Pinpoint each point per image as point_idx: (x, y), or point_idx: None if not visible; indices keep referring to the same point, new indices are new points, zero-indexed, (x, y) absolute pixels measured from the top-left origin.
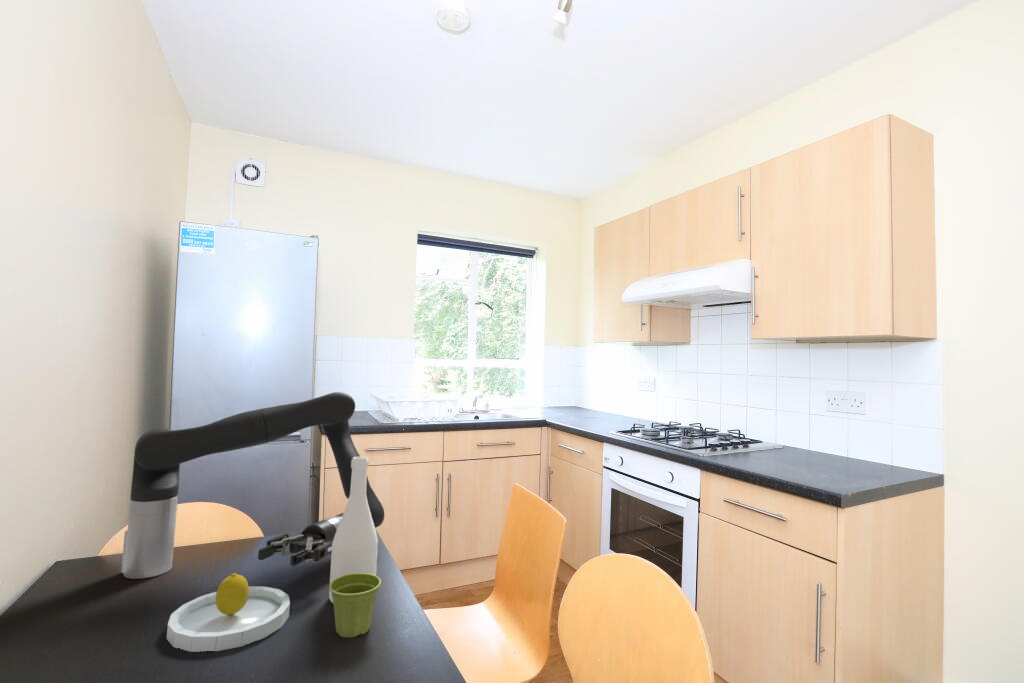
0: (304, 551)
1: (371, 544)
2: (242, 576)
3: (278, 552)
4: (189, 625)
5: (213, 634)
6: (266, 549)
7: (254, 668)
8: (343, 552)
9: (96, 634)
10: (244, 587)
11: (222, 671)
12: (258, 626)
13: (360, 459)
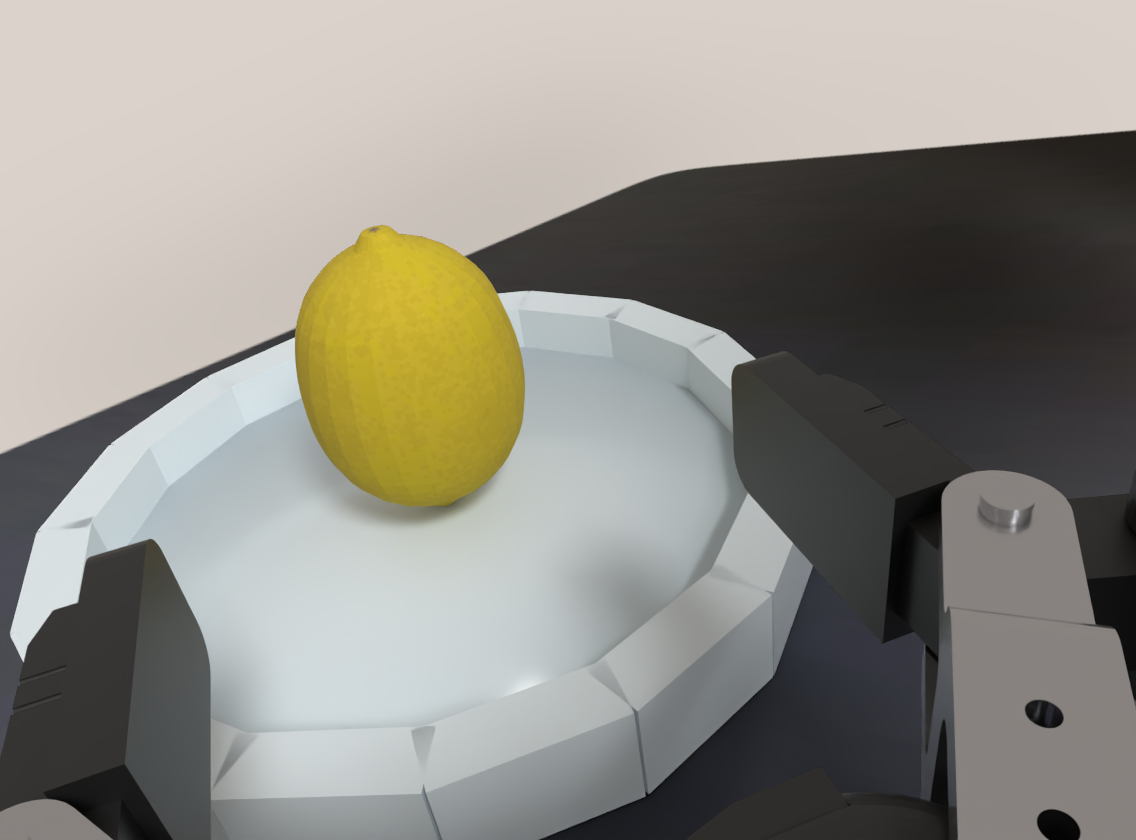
0: (56, 769)
1: None
2: (351, 290)
3: (927, 711)
4: (528, 377)
5: (235, 371)
6: (784, 421)
7: None
8: None
9: (793, 242)
10: (298, 352)
11: (69, 434)
12: (63, 501)
13: None
